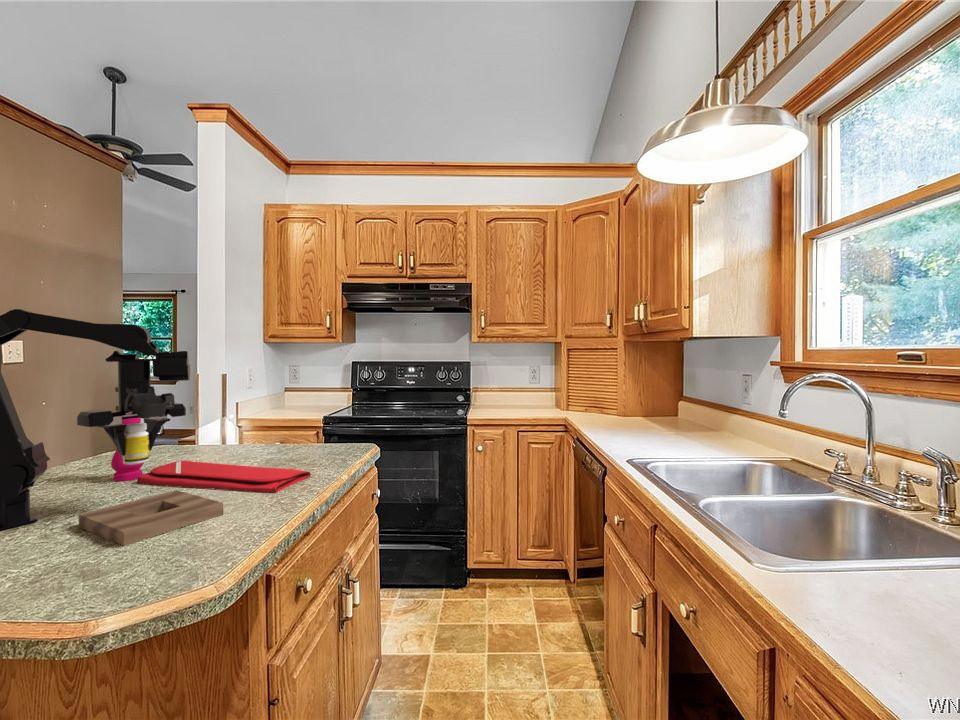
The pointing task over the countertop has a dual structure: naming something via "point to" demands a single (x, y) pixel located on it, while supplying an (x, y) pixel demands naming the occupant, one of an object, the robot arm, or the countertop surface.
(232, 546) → the countertop surface
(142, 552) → the countertop surface
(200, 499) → the socket board
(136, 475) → the pepper mill
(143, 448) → the supplement bottle
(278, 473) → the red folded cloth
